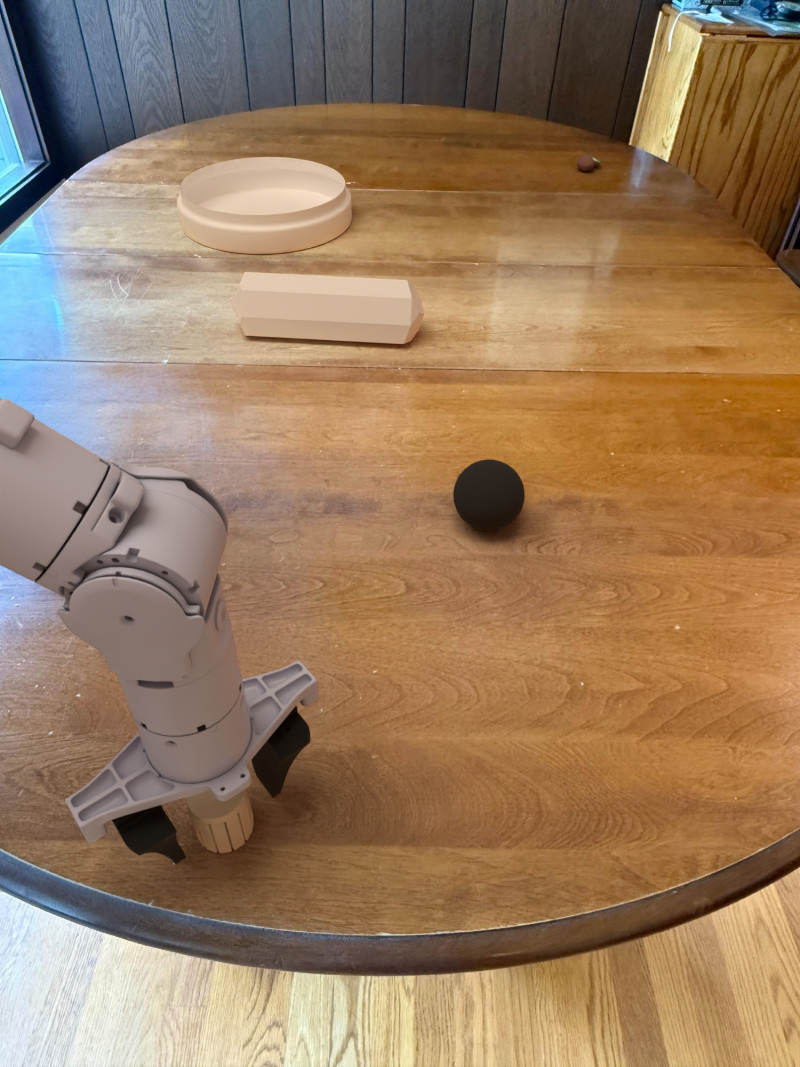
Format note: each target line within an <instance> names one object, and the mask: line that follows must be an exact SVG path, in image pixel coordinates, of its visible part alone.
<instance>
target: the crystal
mask: <svg viewBox="0 0 800 1067" xmlns="http://www.w3.org/2000/svg"><path fill="white" fill-rule="evenodd" d="M231 306H232V309H233V311H234V314H235V317H236V319H237V322H238V324H239V326H240V328H241V331H242V333H243V335H244V336H247V337H265V338H285V339H286V338H287V339H301V340H302V339H304V340H319V341H322V340H324V341H341V342H357V343H359V342H360V343H376V344H377V343H378V344H395V345H397V344H398V345H405V344H408V343H410V342H412V340H413V339H414V337H415V336H416V334H417V333H418V332H419V330H420V328H421V325H422V323H423V320H424V316H425V311H424V307H423V302H422V299H421V297H420V294H419V293H418V290H417V289H416V286H415V285H414V284H413V283H411V282H410V281H409V280H408V279H395V278H374V277H355V276H336V275H335V276H334V275H316V274H298V273H297V274H296V273H278V272H277V273H276V272H259V271H258V272H257V271H244V273H243V275H242V277H241V279H240V282H239V284H238V286H237V289H236V290H235V294H234V296H233V298H232V300H231Z"/></svg>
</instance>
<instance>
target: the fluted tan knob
mask: <svg viewBox="0 0 800 1067" xmlns="http://www.w3.org/2000/svg"><path fill="white" fill-rule="evenodd" d="M184 799H185V805H186V807H187V811H188V814H189V818H190V820H191V823H192V826H193V828H194V831H195V834H196V837H197V840H198V841H199V843H200V844H201V846H202V847H203V848H205V850H207V851H210V852H212V853H214V854H217V853H218V854H226V853H232V851H236V850H238V849H239V848H240V847H242V846H243V845H245V844H246V841H248V840H249V839H250V836H251V835H252V833H253V829H254V827H255V820H254V812H253V808H252V804H251V799H250V796H249V791H248V787H247V788H246V789H244V790H243V791H241V792H240V793H238V794H237V795H235V796H234V797H232V798H231V799H229V800H227V801H219V800H218V799H216V798H215V796H214V795H213V794H212V793H211V792H208V791H207V792H203V793H200V794H196V795H193V796H189V797H186V798H184Z"/></svg>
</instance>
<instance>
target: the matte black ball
mask: <svg viewBox="0 0 800 1067" xmlns="http://www.w3.org/2000/svg"><path fill="white" fill-rule="evenodd" d="M452 492H453V493H452V499H453V500H452V501H453V504H454V508H455V510H456V512H457V514H458V515H459V517H460V518H461V520H463V521H464V522H465V523H466V524H467V525H469V526H470V527H472V528H474V529H477V530H480V531H498V530H501V529H503V528H505V527H507V526H509V525H510V524H512V523H513V522H514V521H515V520H516V519H517V517H519V515H520V513H521V512H522V510H523V508H524V503H525V496H526V494H525V486H524V482H523V480H522V478H521V477H520V474H519V473H518V472H517V471H516V470H515V469H514V468H513V467H512V466H511V465H509V464H508V463H505V462H504V461H501V460H498V459H497V460H496V459H491V458H490V459H486V458H485V459H481V460H478V461H475V462H472V463H470V464H469V465H468V466H467V467H465V468H464V469H463V470H462V471H461V472H460V473H459V475H458V476H457V478H456V481H455V483H454V486H453V491H452Z"/></svg>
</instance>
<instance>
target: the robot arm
mask: <svg viewBox="0 0 800 1067" xmlns="http://www.w3.org/2000/svg"><path fill="white" fill-rule="evenodd" d="M228 532H229V521H228V516H227V513H226V510H225V508H224V507H223V505H222V503H221V502H220V500H219V499H218V498H217V497H216V496H215V495H214V494H213V493H212V492H211V491H210V490H209V489H208V488H207V487H205V486H203V485H202V484H201V483H200V482H199V481H197V479H195V477H194V476H192V475H191V474H189V473H186V472H183V471H180V470H177V469H173V468H168V467H163V466H161V467H160V466H143V465H137V464H134V463H132V462H130V461H128V460H126V458H121V460H119V459H118V458H116V457H111V458H109V460H108V461H107V460H106V459H104V458H102V457H100V456H99V455H97V454H96V453H93V452H92V451H90V450H89V449H87V448H85V447H84V446H82V445H80V444H79V443H77V442H76V441H74V440H73V439H70V438H69V437H67V436H65V435H64V434H62V433H60V432H59V431H57V430H56V429H53V428H52V427H50V426H48V425H47V424H45V423H43V422H42V421H40V420H38V419H37V418H35V415H34V414H33V413H32V412H30V411H29V410H27V409H25V408H23V406H20V405H19V404H17V403H15V402H13V401H12V400H10V399H9V398H1V397H0V566H1V567H3V568H6V569H7V570H9V571H11V572H13V573H15V574H17V575H19V576H21V577H23V578H25V579H27V580H29V581H31V582H34V583H35V584H37V585H39V586H41V587H43V588H45V589H46V590H48V591H50V592H53V593H55V594H57V595H58V596H61V597H62V598H63V597H64V599H65V601H64V603H63V605H62V608H60V609H58V610H57V612H56V613H57V615H58V616H59V618H60V620H61V621H62V623H63V624H64V626H65V627H66V628H67V629H68V630H69V631H70V632H71V633H72V634H73V635H75V636H76V637H77V638H78V639H80V640H81V641H83V642H84V643H86V644H88V645H89V646H91V647H93V648H94V649H96V650H97V651H98V652H99V653H100V654H101V655H102V656H103V657H104V660H105V662H106V665H107V668H108V670H109V672H111V673H115V674H116V678H117V680H118V682H119V684H120V688H121V690H122V693H123V696H124V698H125V700H126V703H127V706H128V709H129V712H130V714H131V717H132V719H133V722H134V725H135V727H136V730H137V733H136V734H135V735H134V736H133V737H132V738H131V739H130V740H129V741H128V742H127V744H125V745H124V746H123V747H122V748H121V749H120V751H119V752H118V753H117V754H115V756H113V758H112V759H111V760H110V761H108V763H106V764H105V766H104V767H103V768H102V769H101V770H100V771H99V772H98V773H97V774H96V775H94V777H93V778H92V779H91V780H90V781H88V782H87V783H86V784H85V785H84V786H82V787H81V788H79V789H78V790H77V791H75V792H74V793H72V794H71V795H69V796H68V797H66V798H65V799H64V802H65V804H66V806H67V808H68V809H69V811H70V813H71V815H72V818H73V819H74V821H75V823H76V825H77V826H78V828H79V830H80V831H81V833H82V835H83V837H84V838H85V841H86V842H87V844H88V845H92V844H93V843H94V842H96V841H98V840H99V839H101V838H102V837H104V836H105V835H106V834H107V833H108V827H107V826H106V823H108V822H109V821H112V823H113V825H114V827H115V829H116V830H117V833H118V834H119V835H120V837H121V839H122V841H123V843H124V845H125V846H126V847H127V848H128V849H129V850H130V851H132V853H134V854H135V855H136V856H143V855H145V854H150V853H154V854H159V855H161V856H165V857H166V858H168V859H170V860H171V861H172V863H173V864H174V865H178V864H179V863H181V862H182V861H184V860H186V858H187V857H186V853H185V852H184V850H183V849H182V847H181V845H180V843H179V842H178V838H177V831H178V830H177V829H176V827H175V826H174V824H173V823H172V821H171V819H170V818H169V816H168V814H167V813H166V811H165V809H164V808H163V805H165V804H168V803H172V802H175V801H179V800H182V799H185V798H186V797H189V796H193V795H196V794H200V793H203V792H207V791H208V792H211V793H212V794H213V795H214V796H215V798H216V799H218V800H219V801H227V800H229V799H231V798H232V797H234V796H235V795H237V794H238V793H240V792H241V791H243V790H244V789H246V788H247V789H248V787H250V785H251V783H252V781H253V780H252V774H251V770H249V768H248V765H249V763H250V762H251V765H252V768H253V770H254V771H253V772H254V774H255V776H256V778H257V779H258V780H259V782H260V783H261V785H262V786H263V787H264V788H265V790H266V791H267V793H268V794H269V795H270V797H271V798H272V799H274V798H275V797H278V795H280V794H281V793H282V791H283V787H284V784H285V781H286V779H287V776H288V773H289V771H290V768H291V766H292V764H293V763H294V761H295V760H296V758H297V757H298V756H299V754H300V753H301V752H302V751H303V750H304V749H305V748H306V747H307V746H308V745H309V744H310V743H311V729H310V726H309V724H308V723H307V721H306V720H305V719H304V718H303V716H301V715H300V713H299V709H298V706H297V705H298V704H300V705H302V706H303V707H308V706H310V705H312V704H313V703H315V702H316V701H318V700H319V699H320V693H319V684H318V683H319V682H318V679H317V678H316V676H314V674H313V673H312V672H311V671H310V670H309V669H308V668H307V666H306V665H305V664H304V663H303V662H302V661H301V659H297V660H295V661H294V662H292V663H289V664H288V665H286V666H284V667H281V668H279V669H275V670H272V671H269V672H265V673H260V674H258V675H254V676H249V677H246V678H243V676H242V670H241V666H240V660H239V657H238V656H239V655H238V652H237V647H236V646H237V645H236V642H235V641H236V640H235V636H234V632H233V627H232V622H231V617H230V614H229V611H228V608H227V602H226V598H225V593H224V588H223V582H222V578H221V575H220V574H219V570H220V569H219V568H220V565H221V562H222V559H223V554H224V553H225V548H226V546H227V539H228V538H227V537H228V536H227V535H228Z"/></svg>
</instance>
